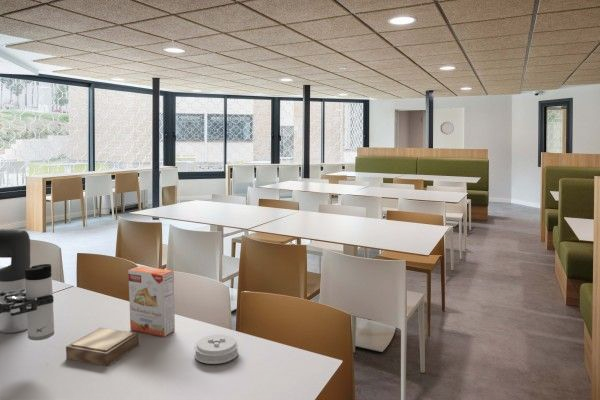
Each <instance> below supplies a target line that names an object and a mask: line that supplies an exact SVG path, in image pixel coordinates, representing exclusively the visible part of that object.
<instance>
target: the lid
mask: <svg viewBox="0 0 600 400" xmlns="http://www.w3.org/2000/svg"><path fill="white" fill-rule="evenodd" d="M238 347H239V342H238V340H237V339H236V338H234V337H233V336H231V335H227V334H211V335H207V336H204V337H202V338H200V339H199V340H198V341H197V342H195V344H194V351H195V352H194V358H195V359H196V360H197V361H198V362H199V363H200V362H201V363H205V364H209V365H211V364H213V365H215V364H217V365H218V364H224V363H228V362H230V361H232V360H234V359H235V358H237V356H238V355H239V349H238Z"/></svg>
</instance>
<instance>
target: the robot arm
mask: <svg viewBox="0 0 600 400" xmlns="http://www.w3.org/2000/svg"><path fill="white" fill-rule="evenodd" d="M30 237H31V236H30V234H29V233H28V231H27V230H25V229H18V228H17V229H16V228H15V229H14V228H13V229H10V228H9V229H8V228H5V229H4V228H1V229H0V258H3V259H6V258H7V259H11V260H10V264H9V265H7V266H4V267H1V268H0V333H5V334H12V333H19V332H24V331H25V330H28V328H27V312H31V311H35V310H37V307H38V306H41V305H46V304H50V303H53V304H54V295H46V296H41V297H37V298H28V297H26V289H25V269H26V268H27V269H28V268H31V238H30ZM29 304H31V305H29ZM28 308H29V309H28Z"/></svg>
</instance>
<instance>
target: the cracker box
mask: <svg viewBox="0 0 600 400" xmlns="http://www.w3.org/2000/svg"><path fill="white" fill-rule="evenodd" d="M127 271H128V296H129V321H130V322H129V326H130V330H131V331H136V332H139V333H144V334H148V335H153V336H157V337H161V338H165V337H166V336H168V335H170V334H172V333H173V332H175V330H176V328H175V327H176V324H175V322H176V321H175V320H176V318H175V284H174V282H175V281H174V280H175V278H174V276H175V275H174V271H173V270H169V269H162V268H156V267H149V266H144V265H138V266H136V267H132V268H130V269H127Z"/></svg>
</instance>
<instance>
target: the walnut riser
mask: <svg viewBox="0 0 600 400" xmlns="http://www.w3.org/2000/svg"><path fill="white" fill-rule="evenodd" d="M139 338H140V337H139V333H138V332H131V331H124V330H120V329H119V330H118V329H112V328H107V327H106V328H105V327H99V328H97V329H95V330H93V331H92V332H90V333H88V334H86V335H85V336H83V337H81V338H79V339H77V340H76V341H74V342H72V343H70V344H68V345H66V346H65V352H66V353H65V354H66V356H65V358H66V360H68V359H69V360H73V361H79V362H84V363H89V364H96V365H100V366H105V367H108V366H109V365H111V364H112V363H114V362H115V361H117V360H118V359H120V358H121V357H123V356H125V355H126V354H127V353H128V352H130V351H132V350H133V349H134V348H136V347H138V346H139Z"/></svg>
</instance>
